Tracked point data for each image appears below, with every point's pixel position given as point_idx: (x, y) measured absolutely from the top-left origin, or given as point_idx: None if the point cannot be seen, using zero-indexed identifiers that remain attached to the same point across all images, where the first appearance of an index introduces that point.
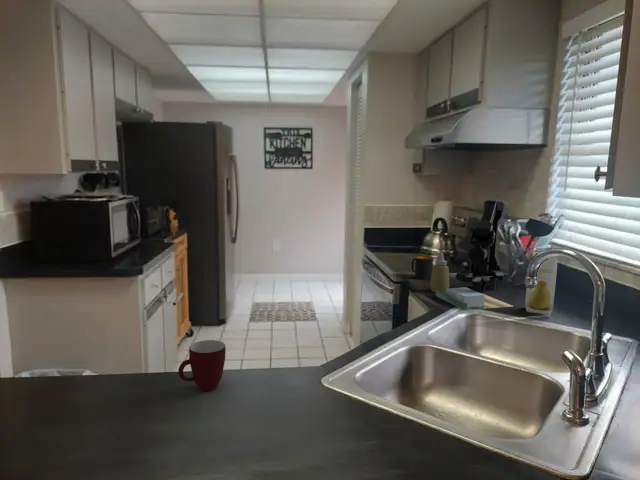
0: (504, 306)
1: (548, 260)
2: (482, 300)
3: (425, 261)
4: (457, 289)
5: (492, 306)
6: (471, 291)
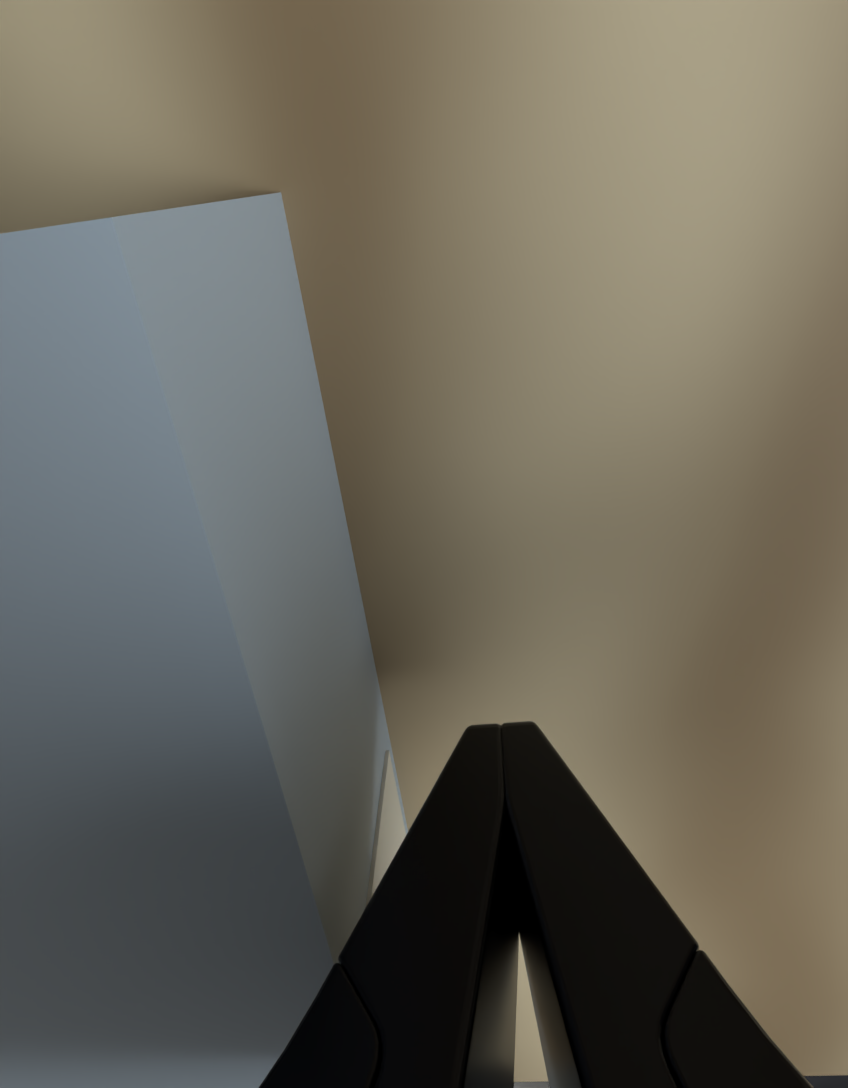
0: (811, 1054)
1: None
2: None
3: None
4: None
5: None
6: (136, 987)
